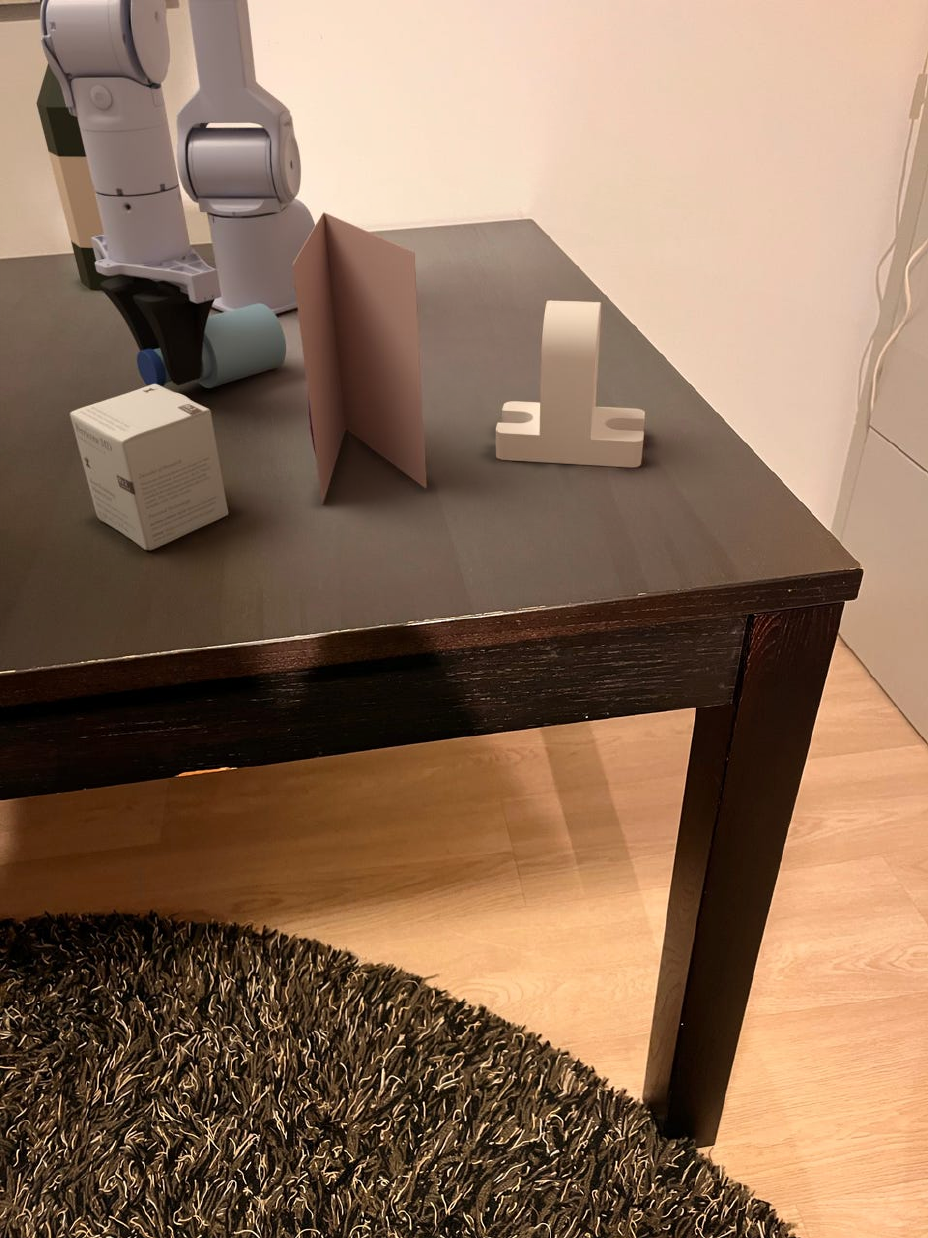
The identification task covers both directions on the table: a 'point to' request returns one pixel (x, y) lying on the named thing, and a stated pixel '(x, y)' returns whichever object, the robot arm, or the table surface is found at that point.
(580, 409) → the white mounting bracket
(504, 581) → the table surface
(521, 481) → the table surface
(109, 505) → the product carton
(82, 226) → the wine bottle
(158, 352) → the bottle
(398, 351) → the greeting card
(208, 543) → the table surface
